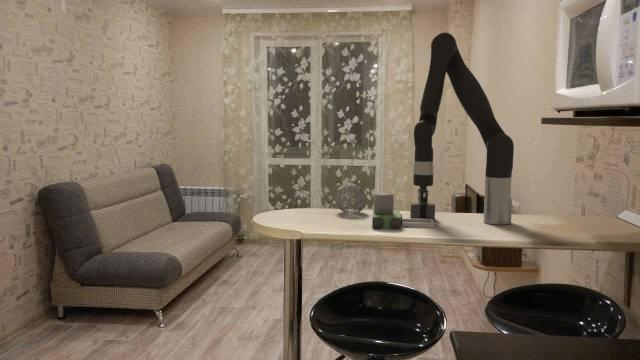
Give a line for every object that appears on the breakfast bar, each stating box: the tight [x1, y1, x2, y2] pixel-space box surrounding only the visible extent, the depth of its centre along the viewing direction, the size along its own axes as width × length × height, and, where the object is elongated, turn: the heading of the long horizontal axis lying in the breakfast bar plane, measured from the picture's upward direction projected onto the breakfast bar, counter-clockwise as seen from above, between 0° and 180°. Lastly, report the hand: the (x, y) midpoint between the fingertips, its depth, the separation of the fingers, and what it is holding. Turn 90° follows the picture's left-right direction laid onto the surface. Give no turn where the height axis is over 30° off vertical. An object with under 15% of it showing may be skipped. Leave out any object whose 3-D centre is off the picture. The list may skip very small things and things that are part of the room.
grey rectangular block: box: [409, 202, 436, 222], centre depth 205 cm, size 9×5×6 cm, turn 83°
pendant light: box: [335, 139, 367, 215], centre depth 217 cm, size 12×12×30 cm
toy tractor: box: [371, 192, 436, 230], centre depth 194 cm, size 22×18×11 cm
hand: (422, 216), depth 206 cm, fingers closed on grey rectangular block, 5 cm apart
